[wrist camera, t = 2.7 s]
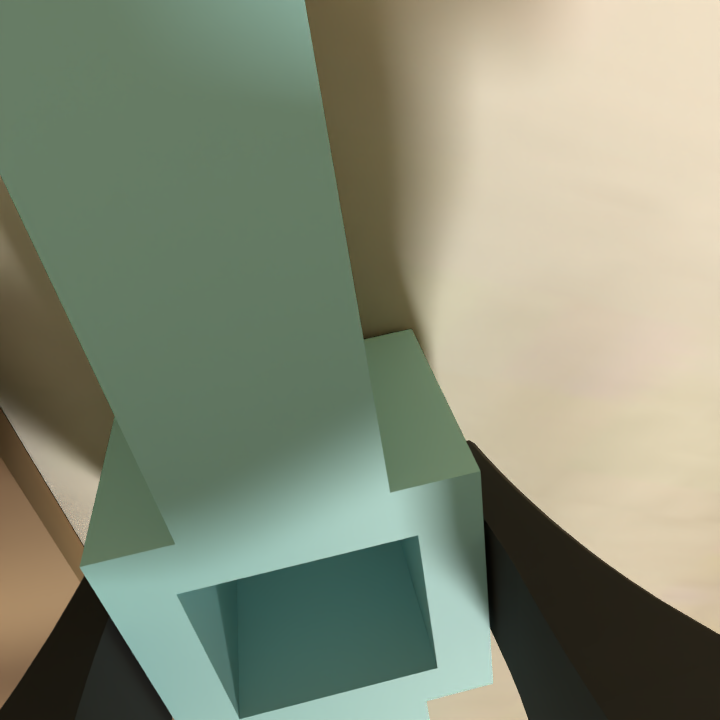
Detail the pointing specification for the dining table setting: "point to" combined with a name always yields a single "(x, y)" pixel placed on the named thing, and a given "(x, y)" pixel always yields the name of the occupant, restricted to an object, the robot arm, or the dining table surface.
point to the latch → (239, 370)
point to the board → (30, 561)
